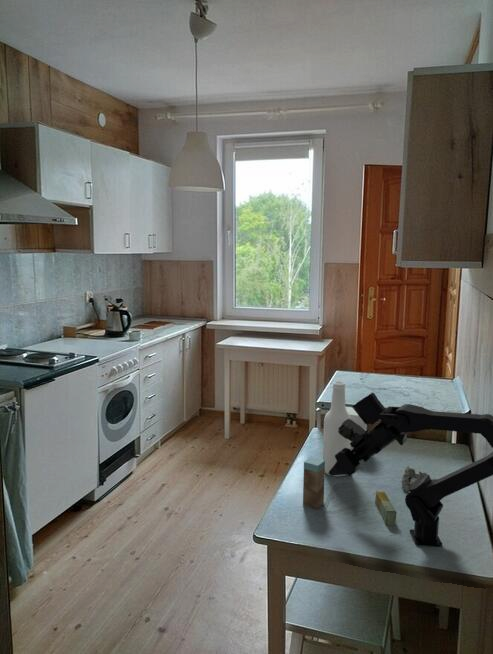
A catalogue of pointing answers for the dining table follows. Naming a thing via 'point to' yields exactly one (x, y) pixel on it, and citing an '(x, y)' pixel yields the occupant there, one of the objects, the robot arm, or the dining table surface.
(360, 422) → the supplement box
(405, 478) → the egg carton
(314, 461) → the wooden block
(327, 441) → the alcohol
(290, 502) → the dining table surface
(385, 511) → the medication box
